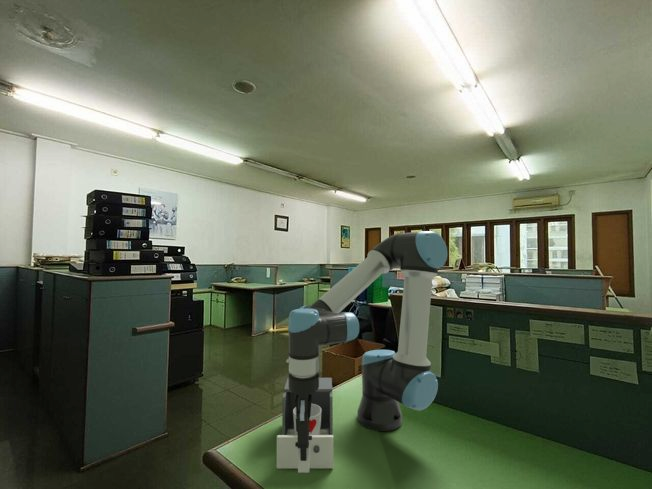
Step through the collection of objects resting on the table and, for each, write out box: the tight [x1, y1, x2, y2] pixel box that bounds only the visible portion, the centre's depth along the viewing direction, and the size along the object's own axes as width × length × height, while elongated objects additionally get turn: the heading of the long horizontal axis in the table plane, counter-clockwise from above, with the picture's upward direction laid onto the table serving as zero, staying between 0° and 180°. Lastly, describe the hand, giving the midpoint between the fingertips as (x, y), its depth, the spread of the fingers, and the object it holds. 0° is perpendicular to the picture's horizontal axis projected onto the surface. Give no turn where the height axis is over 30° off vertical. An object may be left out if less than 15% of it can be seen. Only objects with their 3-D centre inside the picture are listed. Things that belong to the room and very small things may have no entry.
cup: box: [293, 404, 321, 435], centre depth 88 cm, size 8×8×10 cm
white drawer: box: [276, 429, 335, 469], centre depth 88 cm, size 14×15×8 cm
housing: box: [281, 377, 334, 436], centre depth 97 cm, size 14×15×15 cm
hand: (303, 470), depth 75 cm, fingers closed
